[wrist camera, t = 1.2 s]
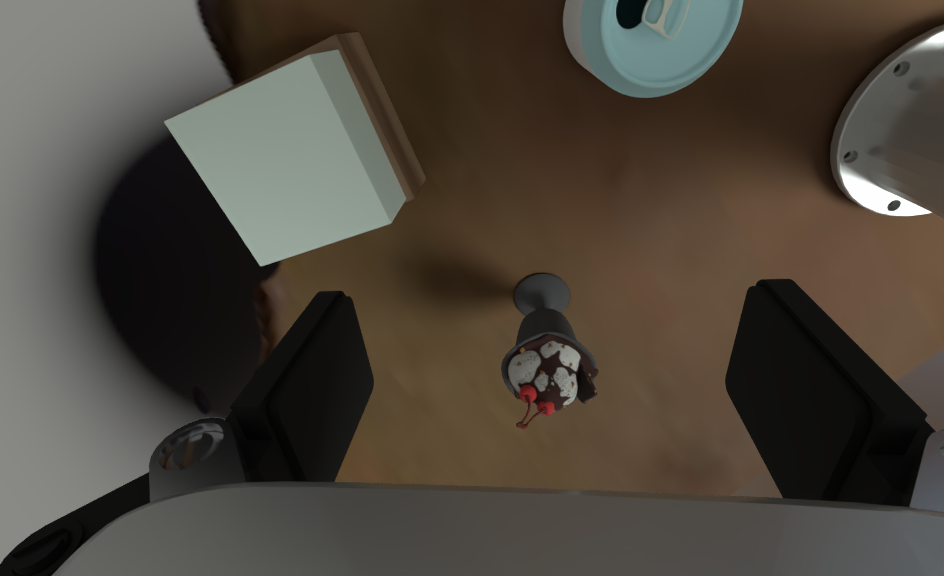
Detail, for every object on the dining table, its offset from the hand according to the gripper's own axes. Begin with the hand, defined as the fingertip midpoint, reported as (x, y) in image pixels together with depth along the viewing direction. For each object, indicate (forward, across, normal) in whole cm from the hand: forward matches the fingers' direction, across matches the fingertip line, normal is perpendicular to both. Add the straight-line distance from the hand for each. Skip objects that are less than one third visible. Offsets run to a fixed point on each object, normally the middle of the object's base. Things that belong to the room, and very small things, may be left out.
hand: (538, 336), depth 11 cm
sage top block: (+21, +15, 0) cm, 26 cm away
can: (+26, -6, -6) cm, 28 cm away
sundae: (+26, 0, +15) cm, 30 cm away
